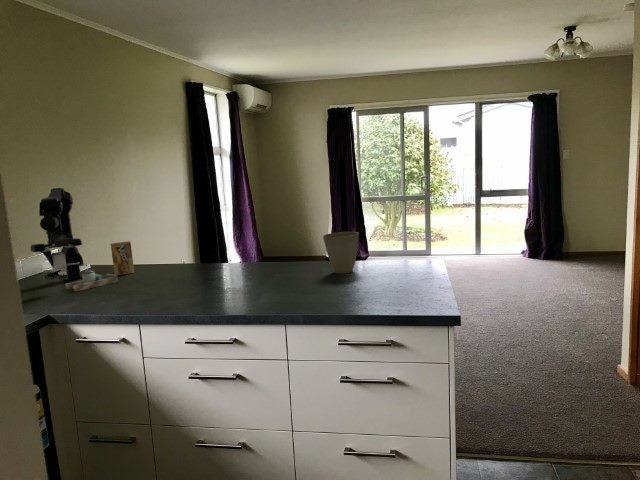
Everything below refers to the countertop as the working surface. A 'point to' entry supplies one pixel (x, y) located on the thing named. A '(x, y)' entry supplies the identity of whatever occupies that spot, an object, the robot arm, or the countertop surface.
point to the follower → (98, 277)
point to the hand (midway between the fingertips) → (59, 265)
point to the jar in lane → (88, 276)
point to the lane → (92, 283)
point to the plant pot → (342, 250)
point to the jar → (59, 260)
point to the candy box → (122, 258)
